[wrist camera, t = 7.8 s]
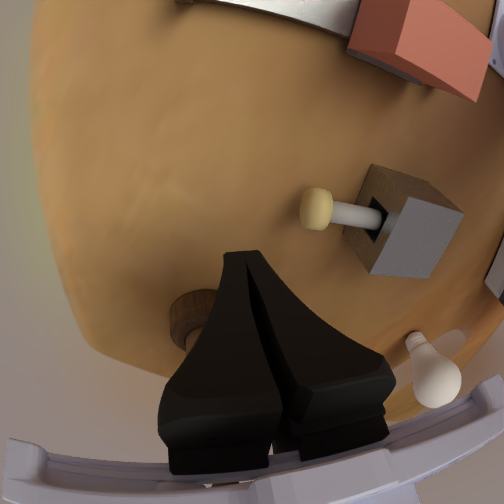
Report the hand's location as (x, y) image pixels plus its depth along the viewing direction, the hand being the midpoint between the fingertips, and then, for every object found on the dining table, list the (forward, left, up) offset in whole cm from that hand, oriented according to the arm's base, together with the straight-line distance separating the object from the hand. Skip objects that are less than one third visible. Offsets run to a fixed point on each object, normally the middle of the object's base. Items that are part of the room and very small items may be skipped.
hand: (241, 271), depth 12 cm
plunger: (-8, 0, -8) cm, 11 cm away
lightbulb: (-27, +16, -10) cm, 33 cm away
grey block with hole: (-13, 0, -9) cm, 16 cm away
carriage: (-8, -12, -9) cm, 17 cm away
